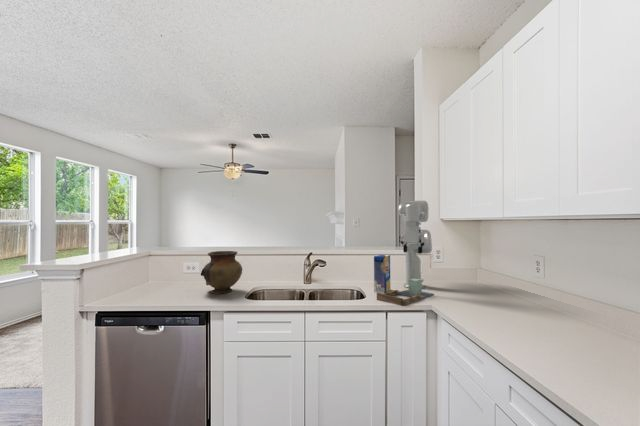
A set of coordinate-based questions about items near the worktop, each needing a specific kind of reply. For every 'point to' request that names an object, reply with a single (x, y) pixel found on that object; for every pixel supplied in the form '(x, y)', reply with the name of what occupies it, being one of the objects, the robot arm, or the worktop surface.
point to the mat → (406, 293)
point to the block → (415, 286)
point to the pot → (222, 271)
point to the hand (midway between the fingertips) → (412, 252)
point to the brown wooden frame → (396, 298)
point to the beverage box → (381, 273)
